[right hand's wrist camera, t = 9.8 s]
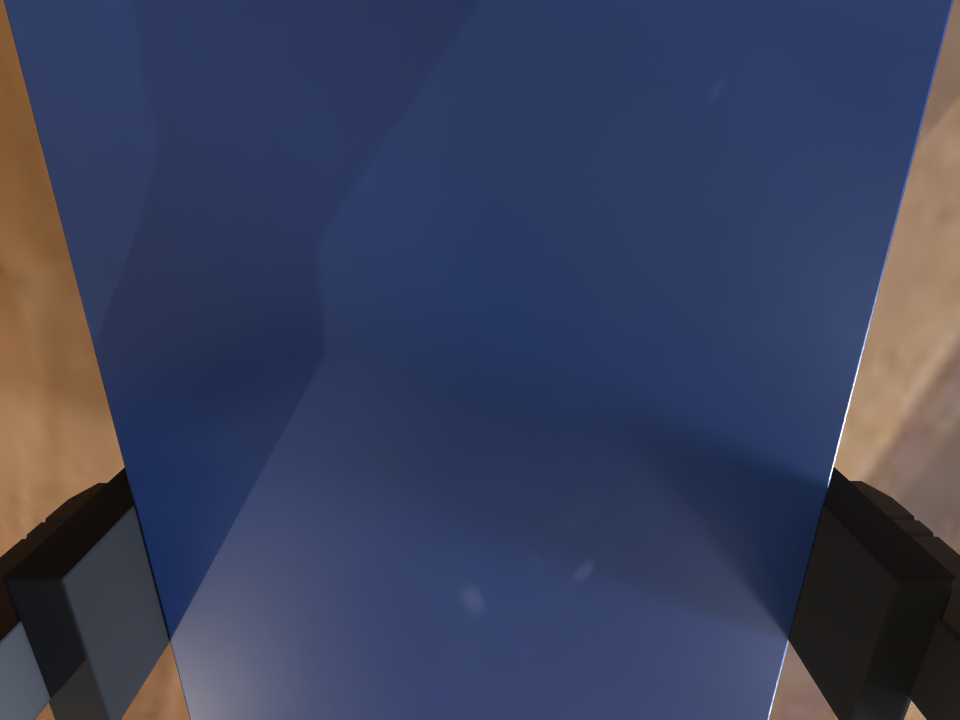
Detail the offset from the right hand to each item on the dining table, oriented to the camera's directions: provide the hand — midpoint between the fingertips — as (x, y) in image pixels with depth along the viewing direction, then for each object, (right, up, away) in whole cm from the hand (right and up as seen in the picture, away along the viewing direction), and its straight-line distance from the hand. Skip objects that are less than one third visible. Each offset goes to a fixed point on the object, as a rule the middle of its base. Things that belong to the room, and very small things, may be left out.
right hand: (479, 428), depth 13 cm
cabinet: (0, +6, +1) cm, 6 cm away
